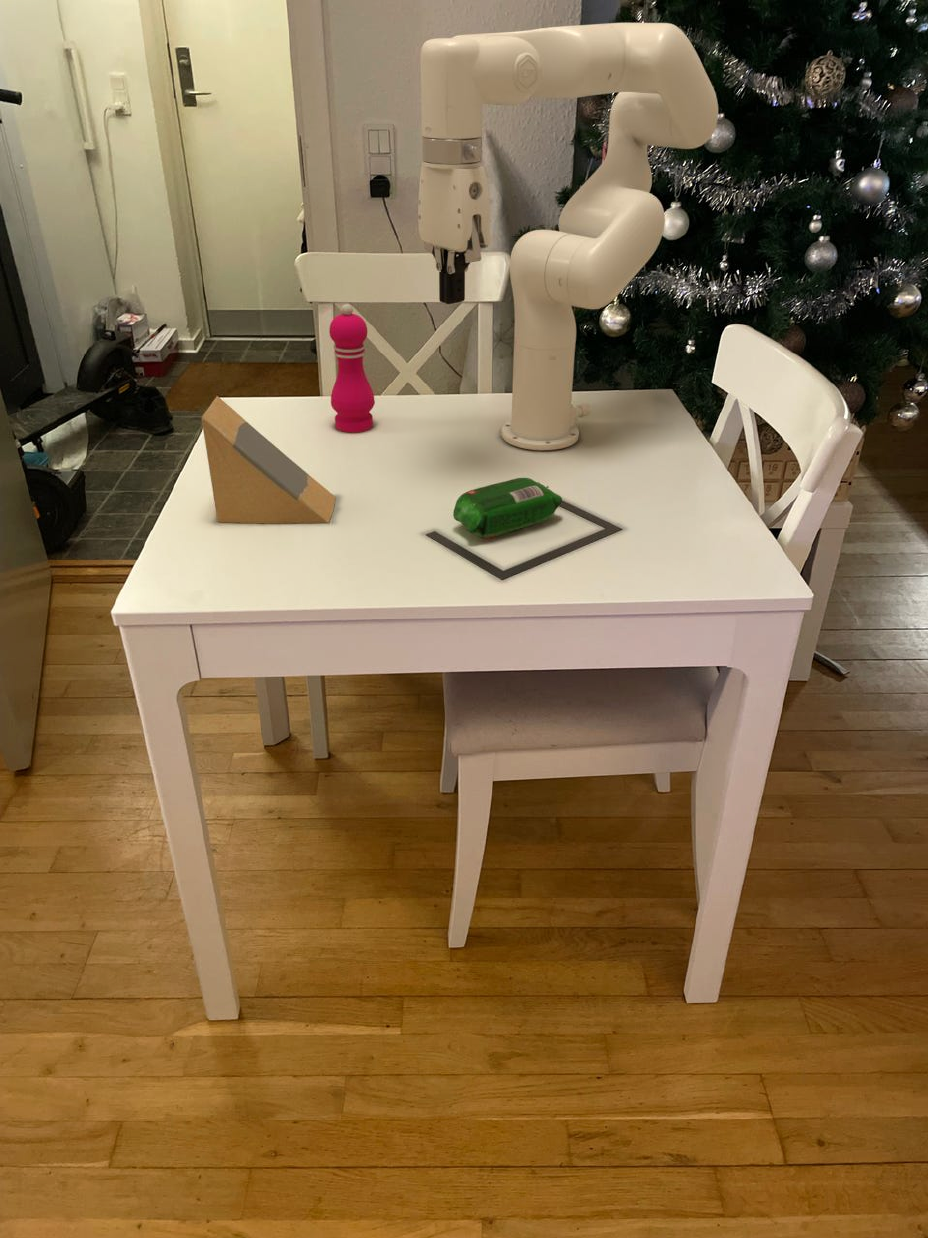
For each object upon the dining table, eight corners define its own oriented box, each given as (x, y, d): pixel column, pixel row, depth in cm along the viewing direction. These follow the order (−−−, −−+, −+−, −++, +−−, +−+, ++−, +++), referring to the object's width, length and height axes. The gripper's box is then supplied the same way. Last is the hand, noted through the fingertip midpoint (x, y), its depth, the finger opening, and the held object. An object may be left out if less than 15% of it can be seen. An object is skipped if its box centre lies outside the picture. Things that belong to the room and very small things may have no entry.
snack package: (570, 521, 128) (572, 485, 126) (472, 547, 122) (473, 511, 119) (540, 502, 134) (542, 467, 131) (444, 526, 127) (444, 491, 124)
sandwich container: (330, 523, 127) (321, 417, 119) (216, 523, 127) (200, 416, 119) (337, 496, 135) (329, 394, 127) (230, 496, 135) (215, 394, 127)
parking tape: (543, 491, 136) (543, 491, 136) (622, 529, 126) (622, 528, 126) (425, 534, 125) (425, 534, 125) (502, 579, 115) (502, 579, 115)
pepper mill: (338, 417, 161) (330, 297, 151) (380, 419, 161) (374, 299, 150) (327, 432, 155) (318, 308, 145) (370, 435, 155) (364, 310, 144)
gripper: (513, 156, 116) (509, 308, 126) (438, 145, 126) (439, 287, 136) (466, 160, 112) (465, 317, 122) (393, 149, 122) (397, 295, 132)
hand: (452, 301), depth 129 cm, fingers closed
